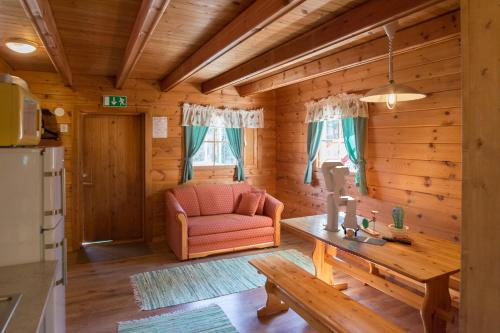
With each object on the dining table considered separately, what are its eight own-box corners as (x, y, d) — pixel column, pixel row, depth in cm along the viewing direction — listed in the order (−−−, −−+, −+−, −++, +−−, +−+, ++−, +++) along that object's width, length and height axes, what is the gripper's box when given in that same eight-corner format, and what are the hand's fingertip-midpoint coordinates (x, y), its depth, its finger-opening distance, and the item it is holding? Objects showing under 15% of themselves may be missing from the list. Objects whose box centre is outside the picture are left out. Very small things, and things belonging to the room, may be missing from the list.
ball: (345, 237, 268) (345, 229, 268) (347, 235, 273) (348, 227, 272) (352, 238, 265) (353, 230, 264) (355, 236, 270) (355, 229, 269)
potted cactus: (384, 233, 280) (385, 204, 278) (403, 233, 280) (404, 204, 278) (392, 239, 264) (393, 208, 262) (412, 239, 265) (413, 208, 262)
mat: (342, 238, 266) (342, 237, 266) (347, 234, 277) (347, 233, 276) (382, 245, 249) (382, 244, 249) (386, 241, 260) (386, 240, 260)
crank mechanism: (380, 235, 275) (381, 212, 273) (372, 236, 274) (373, 212, 272) (363, 227, 299) (363, 206, 297) (356, 227, 298) (357, 206, 296)
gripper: (338, 213, 269) (338, 235, 271) (360, 216, 259) (360, 238, 261) (341, 211, 275) (341, 232, 277) (363, 214, 265) (362, 236, 267)
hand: (350, 235), depth 269 cm, fingers open, 7 cm apart
